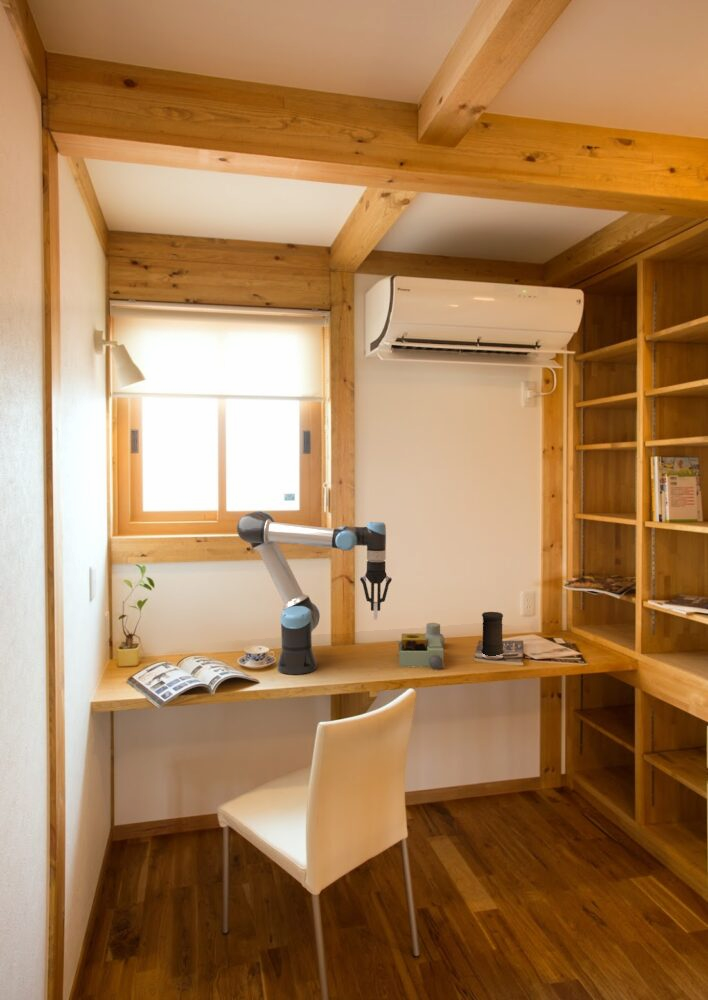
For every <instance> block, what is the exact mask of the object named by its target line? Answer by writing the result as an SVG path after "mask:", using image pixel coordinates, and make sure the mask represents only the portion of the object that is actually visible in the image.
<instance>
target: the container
mask: <svg viewBox="0 0 708 1000" xmlns="http://www.w3.org/2000/svg"><path fill="white" fill-rule="evenodd" d="M481 617H482V644H481V645H482V649H481V654H482V653H483V654H485V655H488V656H496V655H500V654H504V653H505V652H504V650H503V649H504V647H503V646H504V644H503V617H504V615H503V613H502V612H498V611H486V612H485V611H484V612H483V613H482V614H481Z"/></svg>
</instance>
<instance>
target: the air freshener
mask: <svg viewBox="0 0 708 1000" xmlns="http://www.w3.org/2000/svg"><path fill="white" fill-rule="evenodd" d="M425 629H426V632H425V633H424V634H425V637H426V638H440V640H441V644H442V647H443V646H445V644H446V643H445V636H444V635H443V634H442V633H441V624H440V623H437V622H429V623H426V628H425Z"/></svg>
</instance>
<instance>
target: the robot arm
mask: <svg viewBox="0 0 708 1000" xmlns="http://www.w3.org/2000/svg"><path fill="white" fill-rule="evenodd" d="M386 527H387V526H386V524H385V523H384V522H382V521H369V522H367V525H366V526H347V525H346V526H345V525H344V526H339V527H337V528H333V527H323V526H322V527H321V526H312V525H302V524H294V523H286V522H277V521H276V522H275V520H274V518H273V516H272V515H270V514H269V513H267V512H265V511H261V510H258V511H257V510H256V511H253V512H250V513H247V514H244V515H243V516H241V517H240V519H238V521H237V523H236V531H237V536H238V537H239V538H240V539H241V540H243V542H246V543H248V544H250V545H251V547H252V549H253V550H254V551H257V552H258V553H259V555H260V557H261V559H262V561H263V564H264V565H265V567H266V569H267V571H268V573H269V576H270V577H271V580H272V582H273V583H274V584H273V585H275V587H276V589H277V592H278V594H279V595H280V597H281V599H282V601H283V607H282V612H281V616H280V623H281V624H280V625H281V627H280V628H281V652H280V655H279V658H278V660H277V671H278V672H279V671H280V672H279V673H281V672H282V674H284V673H288V674H287V675H293V674H297V675H303V674H302V673H306V674H310V673H312V672H315V671H316V670H317V660H316V657H315V655H314V651H313V648H312V647H313V646H312V641H313V640H312V632H313V631H314V630H315V629H316V628H317V626H318V624H319V622H320V615H321V614H320V610H319V608H318V607H317V606H316V604H315V603H313V602H312V600H311V598H310V597H309V595H307V594H305V593H303V591H302V588H301V586H300V585H299V582H298V581H297V579H296V577H295V574H294V572H293V570H292V569H291V566H290V564H289V563H288V561H287V558H286V556H285V554H284V552H283V551H282V549H281V547H280V544H279V543H283V544H292V545H303V546H310V547H311V546H313V547H321V548H329V549H330V548H331V549H337V550H340V551H343V552H344V551H345V552H348V551H351V550H353V549H354V548H355V547H356V546H364V547H366V560H367V561H366V571H365V575H363V576H360V578H359V580H360V582H361V583H362V587H363V590H364V596H365V599H366V602H369V603H370V611H373V620H378V612H380V611H381V604H382V603H383V602H386V597H387V594H388V590H389V585H390V584H391V582H392V581H393V580H392V577H390V576H388V574H387V572H386V561H385V560H386V557H387V556H386V554H387V553H386V552H387V550H386V547H387V546H386V543H387V530H386V529H387V528H386ZM384 580H385V586H384V589H383V592H381V589H382V588H381V584H382V583H383V582H384ZM367 581H368V582H369V583H370V594H369V591H368V589H369V588H368V586H367ZM375 584H376V585H377V589H376V590H377V592H376V593H377V594H376V595H377V596H376V597H377V601H375ZM381 593H382V597H381ZM315 669H316V670H315ZM309 672H310V673H309Z"/></svg>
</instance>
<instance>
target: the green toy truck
mask: <svg viewBox="0 0 708 1000" xmlns="http://www.w3.org/2000/svg"><path fill="white" fill-rule="evenodd" d="M398 657H399V668H408V667H407V666H410V667H409V668H413V667H412V666H415V667H414V668H425V667H424V666H428V667H431V668H430V669H432V670H434V669H438V670H440V669H442V668H441V667H443V668H444V648H443V646H442V644H441V640H440V638H426V651H402V640H398ZM402 666H403V667H402ZM420 666H421V667H420ZM428 667H427V668H428Z"/></svg>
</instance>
